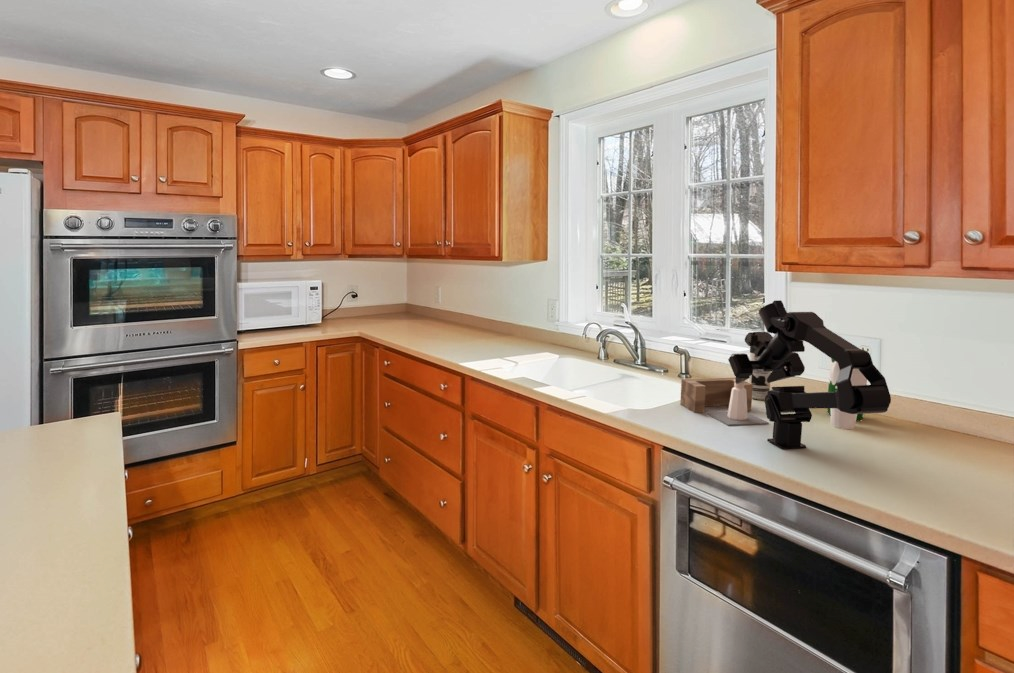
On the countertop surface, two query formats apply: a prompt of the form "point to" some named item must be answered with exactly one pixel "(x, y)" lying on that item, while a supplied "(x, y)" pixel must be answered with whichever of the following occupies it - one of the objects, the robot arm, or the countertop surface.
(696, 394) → the wooden u-shaped block
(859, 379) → the milk carton
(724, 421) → the grey mat
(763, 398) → the spray can
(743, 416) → the pepper shaker
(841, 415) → the white cup
